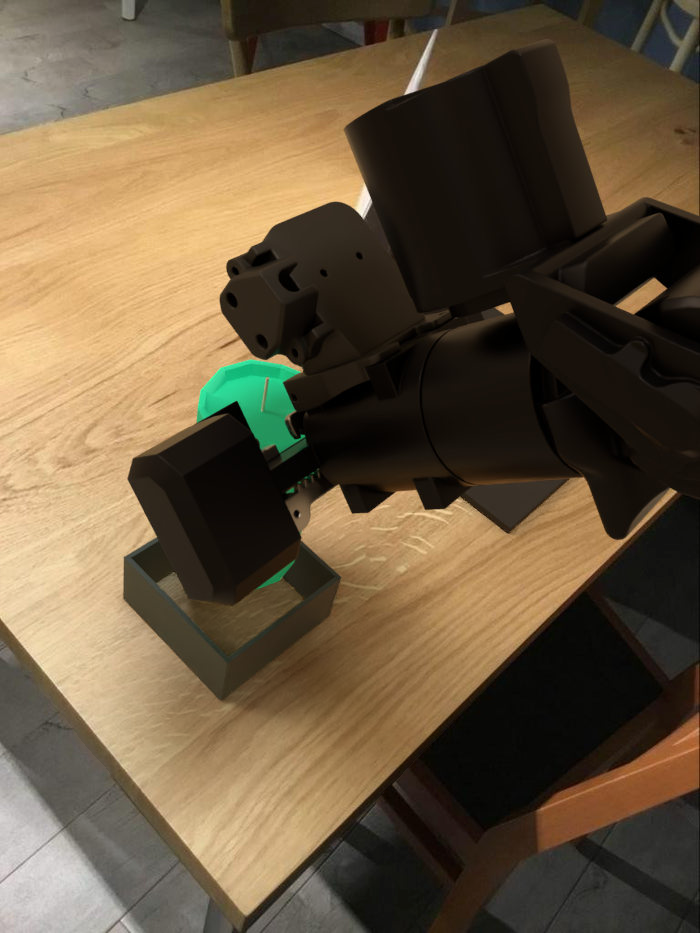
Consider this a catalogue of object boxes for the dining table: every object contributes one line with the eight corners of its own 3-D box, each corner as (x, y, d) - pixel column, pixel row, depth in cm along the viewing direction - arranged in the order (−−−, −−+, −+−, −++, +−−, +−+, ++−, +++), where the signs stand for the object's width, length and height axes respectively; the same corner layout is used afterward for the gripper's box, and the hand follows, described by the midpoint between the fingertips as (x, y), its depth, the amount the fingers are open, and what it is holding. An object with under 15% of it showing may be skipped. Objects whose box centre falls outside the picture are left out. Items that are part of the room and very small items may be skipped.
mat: (642, 413, 72) (645, 408, 72) (508, 533, 60) (510, 528, 60) (455, 288, 79) (457, 282, 79) (302, 373, 67) (303, 367, 67)
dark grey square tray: (329, 615, 53) (342, 577, 50) (220, 701, 48) (227, 663, 45) (234, 527, 56) (241, 485, 53) (122, 598, 51) (123, 556, 48)
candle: (246, 486, 50) (271, 319, 42) (319, 553, 48) (361, 390, 39) (161, 537, 47) (170, 365, 38) (236, 611, 44) (262, 446, 36)
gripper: (536, 125, 35) (299, 233, 47) (174, 278, 24) (-18, 369, 35) (624, 380, 38) (379, 421, 49) (337, 626, 26) (108, 603, 38)
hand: (235, 445), depth 43 cm, fingers closed on candle, 5 cm apart
